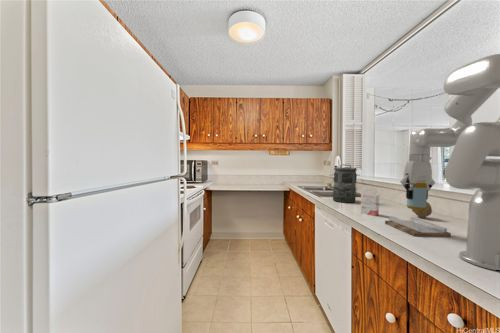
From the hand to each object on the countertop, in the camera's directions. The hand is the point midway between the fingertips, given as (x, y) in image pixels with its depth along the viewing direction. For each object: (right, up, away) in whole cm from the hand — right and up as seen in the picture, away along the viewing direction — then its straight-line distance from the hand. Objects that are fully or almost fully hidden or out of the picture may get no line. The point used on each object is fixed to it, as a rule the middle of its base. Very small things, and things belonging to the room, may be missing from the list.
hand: (416, 198), depth 101 cm
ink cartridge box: (-6, -13, +29) cm, 32 cm away
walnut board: (-1, -14, 0) cm, 14 cm away
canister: (-4, -12, +69) cm, 70 cm away
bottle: (0, -5, 0) cm, 5 cm away
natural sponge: (+20, -14, +24) cm, 35 cm away
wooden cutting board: (0, -13, 0) cm, 13 cm away
